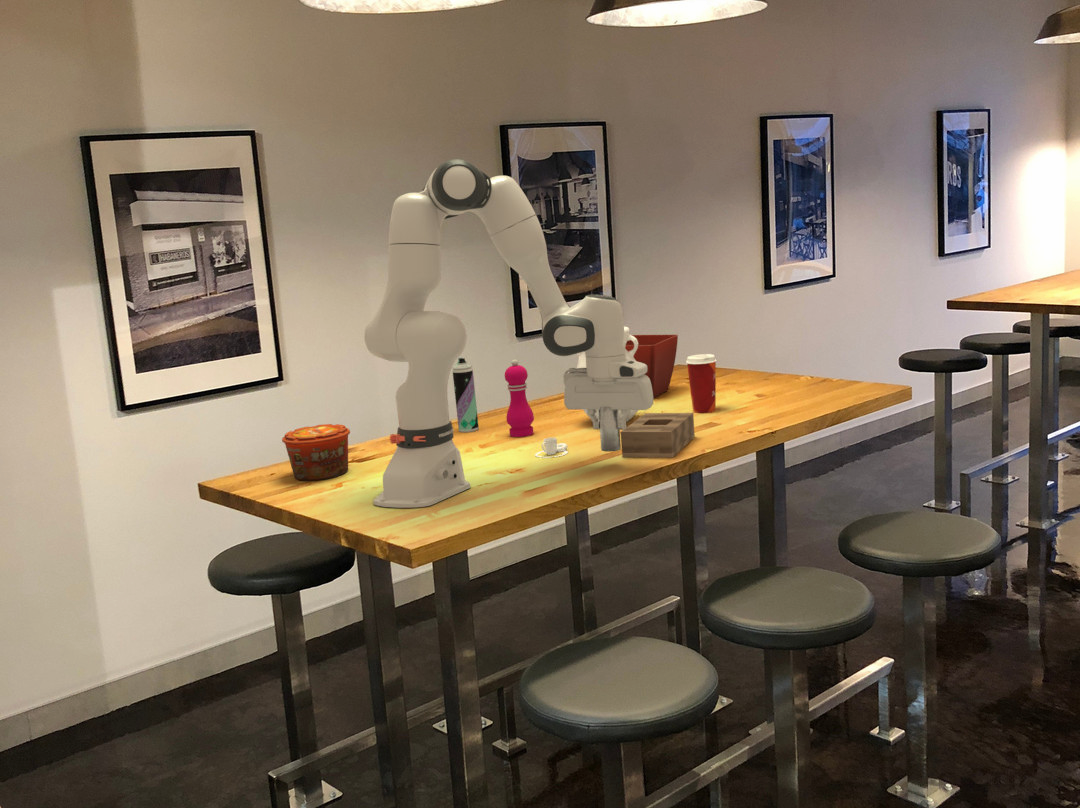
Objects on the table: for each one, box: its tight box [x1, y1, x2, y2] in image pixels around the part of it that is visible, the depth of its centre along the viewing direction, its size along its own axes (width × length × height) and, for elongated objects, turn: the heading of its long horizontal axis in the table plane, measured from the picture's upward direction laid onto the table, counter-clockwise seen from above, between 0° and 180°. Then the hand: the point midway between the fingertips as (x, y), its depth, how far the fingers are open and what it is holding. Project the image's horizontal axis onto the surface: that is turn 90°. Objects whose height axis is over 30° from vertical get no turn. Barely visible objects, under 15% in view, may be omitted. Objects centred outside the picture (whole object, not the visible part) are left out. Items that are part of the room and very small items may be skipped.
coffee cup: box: [685, 353, 718, 414], centre depth 285 cm, size 8×8×15 cm
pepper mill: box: [504, 359, 535, 438], centre depth 276 cm, size 7×7×20 cm
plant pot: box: [625, 334, 679, 399], centre depth 315 cm, size 19×19×17 cm
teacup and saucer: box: [534, 437, 569, 459], centre depth 253 cm, size 9×8×4 cm
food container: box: [281, 423, 351, 482], centre depth 253 cm, size 16×16×11 cm
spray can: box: [452, 357, 479, 433], centre depth 287 cm, size 6×6×20 cm
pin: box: [599, 407, 622, 452], centre depth 236 cm, size 4×4×10 cm
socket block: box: [620, 412, 695, 459], centre depth 250 cm, size 20×12×6 cm, turn 157°
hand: (609, 429), depth 236 cm, fingers closed on pin, 4 cm apart
